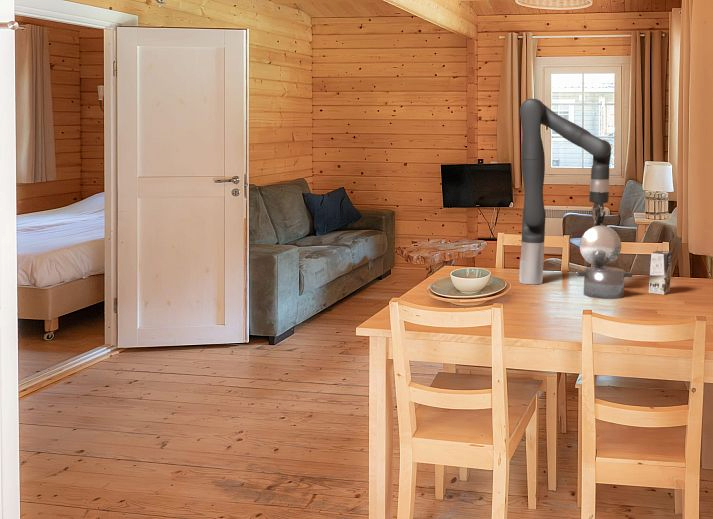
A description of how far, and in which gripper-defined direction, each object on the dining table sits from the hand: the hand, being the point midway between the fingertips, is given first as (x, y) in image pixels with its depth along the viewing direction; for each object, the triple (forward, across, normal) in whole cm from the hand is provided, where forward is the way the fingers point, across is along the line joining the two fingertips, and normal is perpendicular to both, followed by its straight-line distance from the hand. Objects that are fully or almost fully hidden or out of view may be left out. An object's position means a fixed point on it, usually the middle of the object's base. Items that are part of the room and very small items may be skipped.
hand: (597, 233), depth 367 cm
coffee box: (+22, +8, +24) cm, 34 cm away
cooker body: (+22, +16, 0) cm, 27 cm away
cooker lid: (+4, +8, 0) cm, 9 cm away
